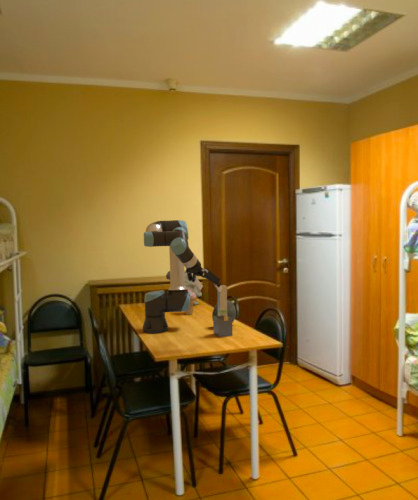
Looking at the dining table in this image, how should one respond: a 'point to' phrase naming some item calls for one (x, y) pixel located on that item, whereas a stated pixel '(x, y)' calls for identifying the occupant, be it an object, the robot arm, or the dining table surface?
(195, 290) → the sculpture
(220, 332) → the stand base
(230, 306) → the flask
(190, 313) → the ice cream cone
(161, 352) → the dining table surface
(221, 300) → the column
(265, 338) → the dining table surface
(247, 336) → the dining table surface
